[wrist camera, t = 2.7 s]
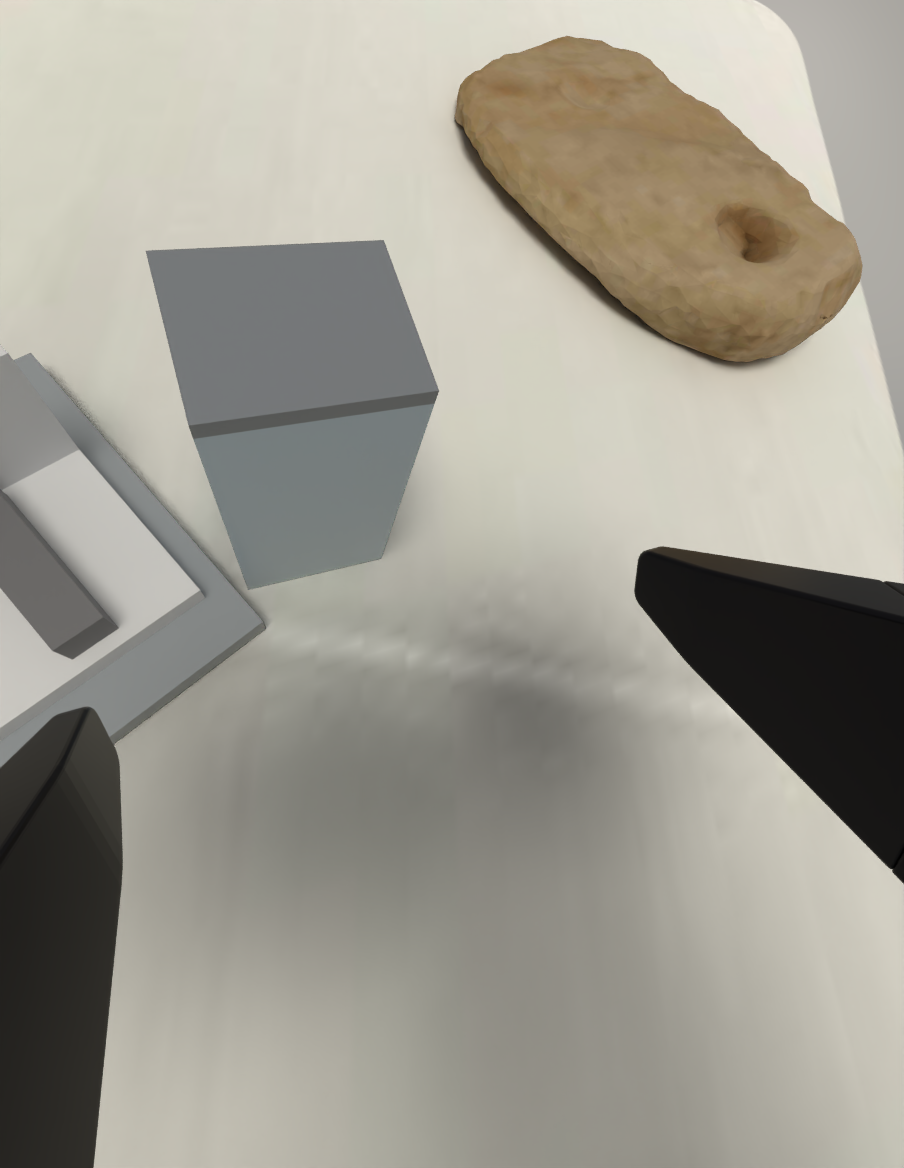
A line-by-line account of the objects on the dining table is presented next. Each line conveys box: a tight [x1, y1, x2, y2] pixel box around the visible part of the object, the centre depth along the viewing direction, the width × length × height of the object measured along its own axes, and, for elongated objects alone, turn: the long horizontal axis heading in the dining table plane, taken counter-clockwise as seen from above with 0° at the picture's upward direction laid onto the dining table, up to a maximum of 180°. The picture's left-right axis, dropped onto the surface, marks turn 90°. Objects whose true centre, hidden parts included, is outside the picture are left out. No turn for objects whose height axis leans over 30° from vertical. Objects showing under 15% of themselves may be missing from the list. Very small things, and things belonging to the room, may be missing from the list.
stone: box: [455, 36, 862, 362], centre depth 32 cm, size 15×26×6 cm, turn 38°
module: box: [146, 240, 439, 590], centre depth 18 cm, size 5×6×12 cm
